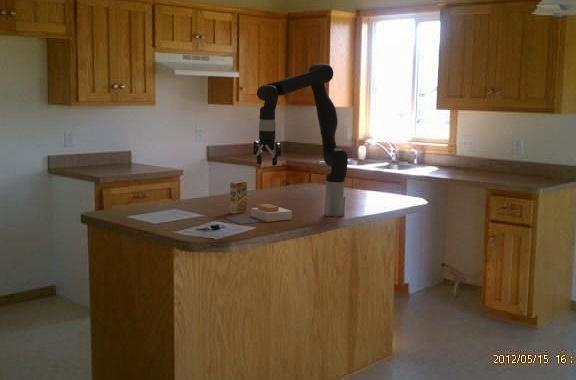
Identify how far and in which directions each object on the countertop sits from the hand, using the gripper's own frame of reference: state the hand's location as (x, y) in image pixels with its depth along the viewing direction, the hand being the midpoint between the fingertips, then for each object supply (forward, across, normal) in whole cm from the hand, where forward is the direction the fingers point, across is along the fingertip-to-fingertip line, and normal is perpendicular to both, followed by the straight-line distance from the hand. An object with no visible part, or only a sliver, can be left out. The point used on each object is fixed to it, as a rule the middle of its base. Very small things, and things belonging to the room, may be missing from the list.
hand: (266, 164), depth 314 cm
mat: (+27, +9, +4) cm, 28 cm away
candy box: (+27, +24, -9) cm, 37 cm away
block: (+23, +5, -8) cm, 25 cm away
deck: (+27, +4, -10) cm, 29 cm away
